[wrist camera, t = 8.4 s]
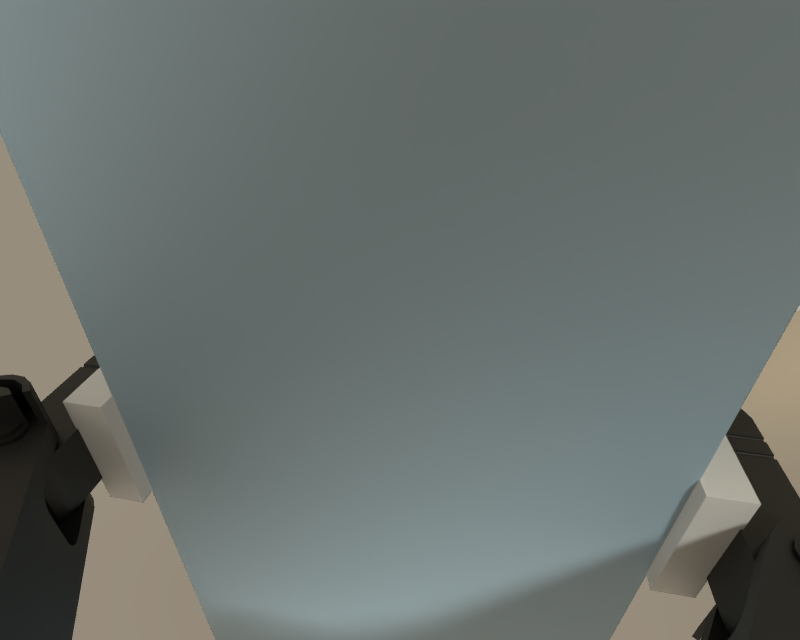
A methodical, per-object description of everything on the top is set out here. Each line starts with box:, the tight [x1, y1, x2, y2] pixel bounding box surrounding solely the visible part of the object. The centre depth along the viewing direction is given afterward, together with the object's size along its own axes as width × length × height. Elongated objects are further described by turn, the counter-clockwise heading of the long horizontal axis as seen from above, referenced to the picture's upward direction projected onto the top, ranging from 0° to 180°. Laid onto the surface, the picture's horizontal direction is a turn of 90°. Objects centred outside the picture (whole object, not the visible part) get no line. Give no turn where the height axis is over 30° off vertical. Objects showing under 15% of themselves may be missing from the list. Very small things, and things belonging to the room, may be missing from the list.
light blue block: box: [0, 0, 800, 640], centre depth 11 cm, size 17×10×6 cm, turn 179°
